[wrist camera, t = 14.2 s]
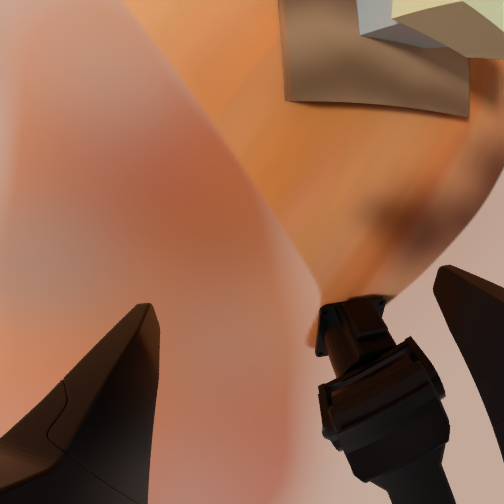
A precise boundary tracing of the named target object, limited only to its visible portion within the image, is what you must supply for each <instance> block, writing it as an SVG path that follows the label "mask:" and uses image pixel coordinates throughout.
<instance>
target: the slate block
mask: <svg viewBox="0 0 504 504" xmlns="http://www.w3.org/2000/svg"><path fill="white" fill-rule="evenodd" d="M392 2H393V0H357V9H358V18H359V29H360V35H361V36H367V37H373V38H379V39H385V40H390V41H395V42H399V43H404V44H408V45H412V46H416V47H420V48H424V49H427V48H439V47H448V46H446V45H444V44H442V43H441V42H439V41H437V40H435V39H433V38H431V37H429V36H427V35H425V34H423V33H421V32H419V31H417V30H415V29H413V28H411V27H409V26H406V25H404V24H402V23H400V22H397V21H395V20H393V19H391V15H392Z"/></svg>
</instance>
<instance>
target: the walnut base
mask: <svg viewBox="0 0 504 504" xmlns="http://www.w3.org/2000/svg"><path fill="white" fill-rule="evenodd" d="M278 7H279V19H280V31H281V44H282V59H283V74H284V91H285V101H329V102H353V103H368V104H380V105H391V106H400V107H408V108H416V109H423V110H429V111H436V112H442V113H447V114H453V115H458V116H463V117H467V118H469V59H468V58H466V57H465V56H463V55H461V54H460V53H458V52H456V51H455V50H453V49H451V48H450V47H439V48H427V49H424V48H420V47H416V46H412V45H408V44H404V43H399V42H395V41H390V40H385V39H379V38H373V37H367V36H361V35H360V29H359V18H358V9H357V0H278Z"/></svg>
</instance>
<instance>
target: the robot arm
mask: <svg viewBox="0 0 504 504" xmlns="http://www.w3.org/2000/svg"><path fill="white" fill-rule="evenodd" d="M433 292H434V295H435V297H436V300H437V302H438V304H439V306H440V309H441V311H442V313H443V316H444V318H445V320H446V323H447V325H448V327H449V330H450V332H451V334H452V336H453V337H454V340H455V342H456V343H457V345H458V347H459V349H460V352H461V354H462V356H463V357H464V360H465V362H466V364H467V366H468V368H469V370H470V373H471V375H472V377H473V379H474V382H475V383H476V386H477V389H478V391H479V393H480V396H481V398H482V401H483V403H484V405H485V408H486V411H487V413H488V416H489V418H490V421H491V424H492V426H493V430H494V433H495V436H496V438H497V442H498V445H499V448H500V451H501V454H502V458H503V461H504V288H503V287H501V286H498V285H496V284H494V283H492V282H490V281H487V280H485V279H483V278H480V277H478V276H476V275H473V274H471V273H469V272H466V271H464V270H462V269H459V268H457V267H454V266H452V265H445V266H441V267H440V268H439V269H438V272H437V276H436V279H435V282H434V286H433ZM380 301H381V302H380ZM379 302H380V303H379ZM385 303H386V300H385V299H384V297H382V296H380V297H374V298H368V299H362V300H357V301H350V302H344V303H338V304H331V305H325V306H322V307H321V308H320V310H319V319H318V329H317V338H316V347H315V354H316V356H317V357H322V356H329V358H330V361H331V364H332V367H333V369H334V372H335V375H336V379H334V380H332V381H330V382H328V383H326V384H321V385H319V386H318V389H319V394H318V397H319V404H320V411H321V417H322V425H323V426H322V427H323V428H322V434H323V436H324V438H326V439H328V440H330V441H331V442H332V444H333V445H334V447H335V448H336V449H337V450H338V451H342V450H343V451H344V453H345V455H346V457H347V460H348V462H349V464H350V466H351V469H352V471H353V474H354V475H355V476H356V477H357V478H358V479H360V480H361V481H362V482H365V483H367V482H369V481H370V482H372V483H374V484H376V485H377V486H379V487H381V488H382V489H384V490H386V491H387V492H388V494H389V497H390V499H391V502H392V504H456V502H455V499H454V496H453V494H452V491H451V488H450V486H449V483H448V480H447V478H446V475H445V472H444V470H443V467H442V464H441V463H442V459H443V454H444V449H445V444H446V443H447V442H448V441H449V434H450V425H449V420H448V417H447V414H446V412H445V410H444V408H443V405H442V403H441V401H440V400H441V399H443V398H444V397H445V396H446V395H445V390H444V388H443V384H442V382H441V380H440V377H439V376H438V373H437V372H436V370H435V368H434V366H433V365H432V363H431V362H430V360H429V359H428V358H427V356H426V355H425V354H424V353H423V351H422V350H421V349H420V347H419V346H418V345H417V344H416V342H415V341H414V340H413V339H412V337H411V336H410V337H408V338H406V339H405V341H403V342H402V343H400V344H398V345H396V343H395V342H394V340H393V338H392V336H391V335H390V333H389V331H388V328H387V326H386V324H385V323H384V321H383V319H382V315H383V311H384V307H385ZM326 310H327V311H326ZM324 311H326V312H324ZM159 349H160V326H159V323H158V320H157V317H156V314H155V311H154V308H153V306H152V304H151V303H143V304H142V303H141V304H137V305H136V306H135V307H134V308H133V309H132V310H131V311H130V312H129V313H128V314H126V316H124V317H123V318H122V319H121V320H120V321H119V322H118V323H117V324H116V325H115V326H114V327H113V328H112V329H111V330H110V331H109V332H108V333H107V334H106V335H105V336H104V337H103V338H102V339H101V340H100V341H99V342H98V343H97V344H96V345H95V346H94V347H93V348H92V349H91V350H90V351H89V352H88V353H87V354H86V355H85V356H84V357H83V359H81V361H79V362H78V364H77V365H76V366H75V367H74V368H73V369H72V370H71V371H70V372H69V373H68V374H67V375H66V376H65V377H64V380H61V381H60V383H58V384H57V385H56V386H55V387H54V389H52V390H51V392H50V393H49V394H48V395H47V396H46V397H45V398H44V399H43V400H42V401H41V402H40V403H38V404H37V405H36V406H35V407H34V408H33V409H32V410H31V411H30V412H29V413H28V414H27V415H25V416H24V417H23V418H22V419H21V420H20V421H19V422H18V423H17V424H16V425H14V426H13V427H12V428H11V429H10V430H9V431H8V432H7V433H6V434H4V435H3V436H2V437H1V438H0V504H148V485H149V484H148V483H149V469H150V456H151V444H152V433H153V424H154V414H155V406H156V397H157V389H158V380H159Z"/></svg>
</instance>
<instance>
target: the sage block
mask: <svg viewBox="0 0 504 504" xmlns="http://www.w3.org/2000/svg"><path fill="white" fill-rule="evenodd" d="M391 19H393V20H395V21H397V22H400V23H402V24H404V25H406V26H409V27H411V28H413V29H415V30H417V31H419V32H421V33H423V34H425V35H427V36H429V37H431V38H433V39H435V40H437V41H439V42H441V43H442V44H444V45H446V46H448V47H450V48H451V49H453V50H455V51H456V52H458V53H460V54H461V55H463V56H465V57H466V58H491V59H504V0H393V2H392V15H391Z"/></svg>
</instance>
